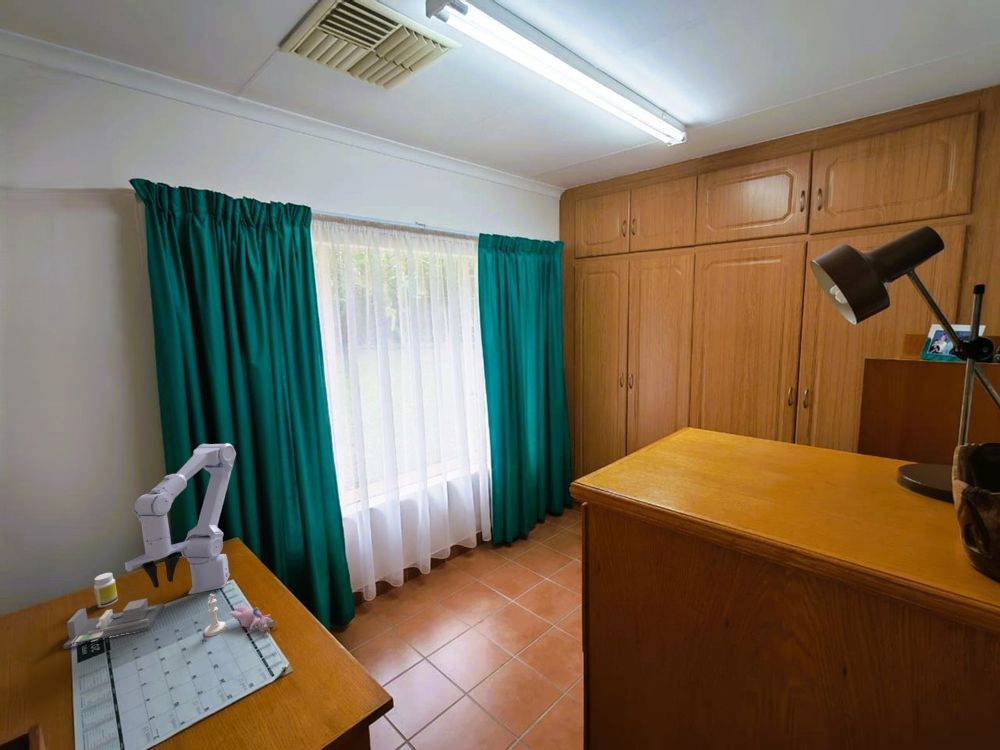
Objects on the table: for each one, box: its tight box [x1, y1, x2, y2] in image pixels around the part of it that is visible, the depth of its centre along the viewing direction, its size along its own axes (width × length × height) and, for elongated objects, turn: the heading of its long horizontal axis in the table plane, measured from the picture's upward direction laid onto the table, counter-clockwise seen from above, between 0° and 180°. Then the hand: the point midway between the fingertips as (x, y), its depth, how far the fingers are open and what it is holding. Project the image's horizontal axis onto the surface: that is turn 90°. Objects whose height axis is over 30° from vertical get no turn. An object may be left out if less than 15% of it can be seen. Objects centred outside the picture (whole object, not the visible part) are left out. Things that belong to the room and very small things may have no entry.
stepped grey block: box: [110, 598, 149, 624], centre depth 122 cm, size 8×4×4 cm, turn 110°
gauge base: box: [62, 602, 165, 650], centre depth 121 cm, size 18×11×6 cm, turn 110°
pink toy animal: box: [229, 605, 279, 634], centre depth 119 cm, size 6×6×15 cm
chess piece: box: [204, 593, 227, 637], centre depth 118 cm, size 5×5×10 cm
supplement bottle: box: [93, 572, 119, 608], centre depth 133 cm, size 5×5×8 cm
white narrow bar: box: [96, 608, 114, 629], centre depth 119 cm, size 1×7×3 cm, turn 19°
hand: (163, 583), depth 124 cm, fingers open, 3 cm apart
